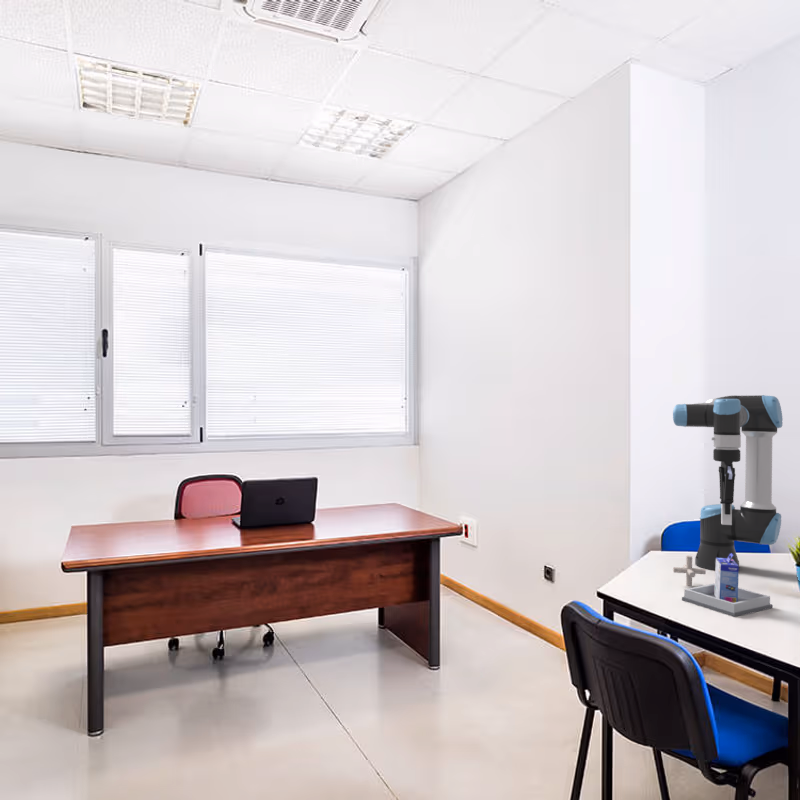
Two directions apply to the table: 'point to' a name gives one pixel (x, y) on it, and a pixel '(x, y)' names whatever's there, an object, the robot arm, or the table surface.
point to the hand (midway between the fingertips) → (726, 524)
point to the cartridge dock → (745, 604)
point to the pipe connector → (689, 570)
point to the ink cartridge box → (726, 579)
